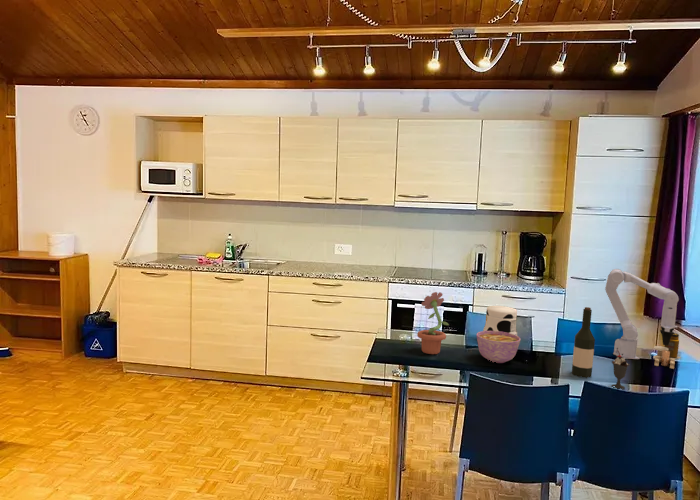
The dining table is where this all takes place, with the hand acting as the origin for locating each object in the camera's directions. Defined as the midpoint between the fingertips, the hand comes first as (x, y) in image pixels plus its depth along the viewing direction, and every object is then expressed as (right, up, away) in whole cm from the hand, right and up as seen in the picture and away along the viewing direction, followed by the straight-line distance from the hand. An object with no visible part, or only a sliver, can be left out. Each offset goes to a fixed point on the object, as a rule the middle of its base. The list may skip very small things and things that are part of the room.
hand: (665, 343), depth 259 cm
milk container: (-74, -4, +24) cm, 78 cm away
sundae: (-42, -12, -37) cm, 57 cm away
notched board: (-2, -10, -2) cm, 10 cm away
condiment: (+8, -9, +11) cm, 17 cm away
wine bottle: (-51, -10, -23) cm, 57 cm away
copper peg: (-3, -10, -4) cm, 11 cm away
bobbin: (0, -9, +5) cm, 10 cm away
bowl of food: (-84, -7, -8) cm, 85 cm away
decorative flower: (-113, -4, 0) cm, 113 cm away
